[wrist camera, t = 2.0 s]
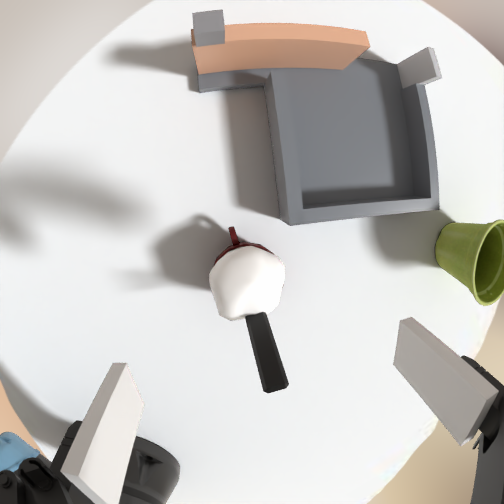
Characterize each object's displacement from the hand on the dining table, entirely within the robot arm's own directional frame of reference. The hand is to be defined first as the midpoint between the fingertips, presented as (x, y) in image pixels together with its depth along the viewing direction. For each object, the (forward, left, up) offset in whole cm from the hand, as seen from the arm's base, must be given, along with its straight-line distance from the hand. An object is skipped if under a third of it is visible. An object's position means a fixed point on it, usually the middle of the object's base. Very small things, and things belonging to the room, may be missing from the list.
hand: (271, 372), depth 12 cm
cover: (+5, +20, -15) cm, 25 cm away
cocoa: (0, 0, -16) cm, 16 cm away
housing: (+9, +13, -16) cm, 22 cm away
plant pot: (+26, -1, -16) cm, 30 cm away
